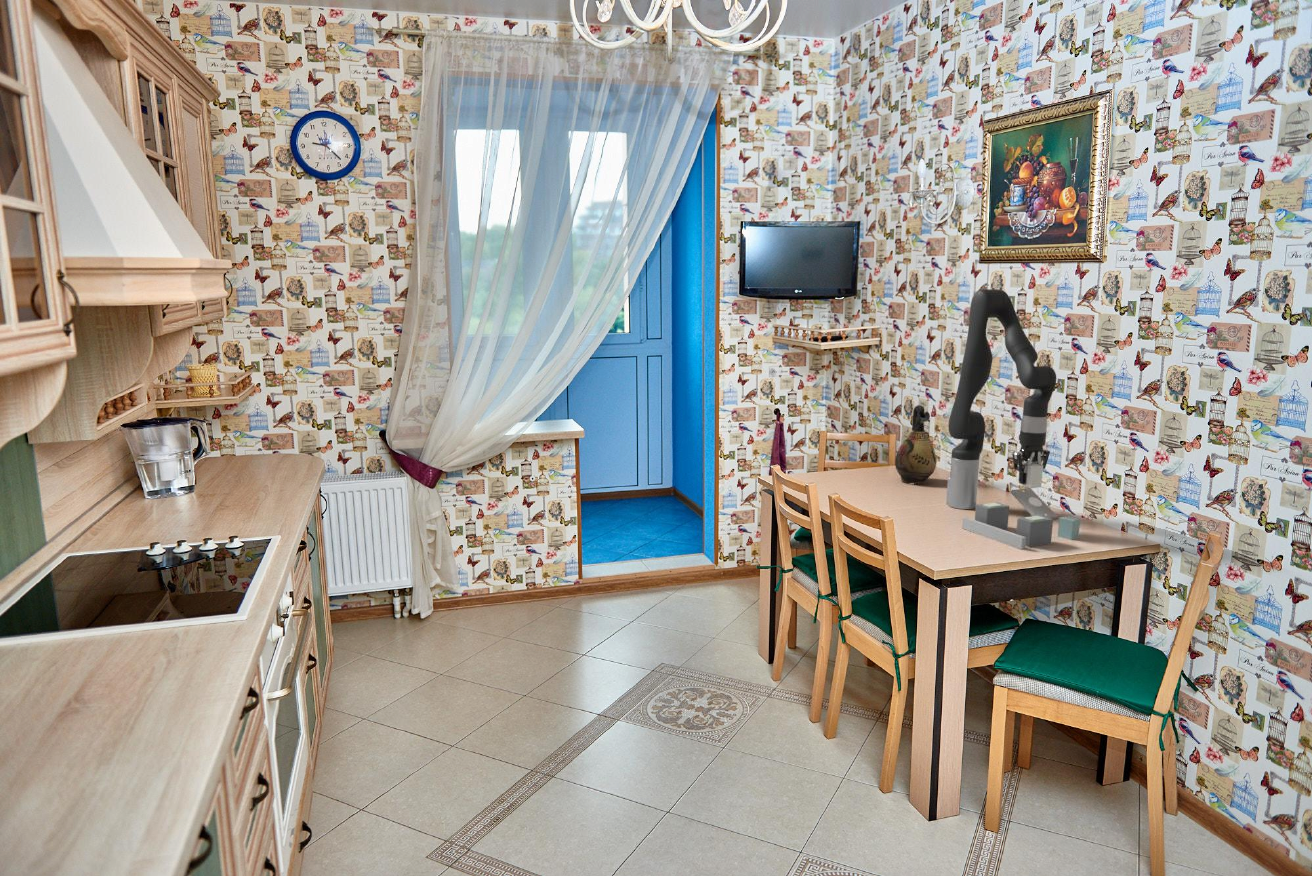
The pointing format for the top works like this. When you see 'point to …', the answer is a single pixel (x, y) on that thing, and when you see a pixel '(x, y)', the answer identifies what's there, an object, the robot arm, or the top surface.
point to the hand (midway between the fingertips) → (1028, 482)
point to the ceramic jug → (916, 452)
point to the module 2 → (1068, 527)
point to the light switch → (1033, 503)
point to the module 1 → (1032, 476)
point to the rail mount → (996, 519)
